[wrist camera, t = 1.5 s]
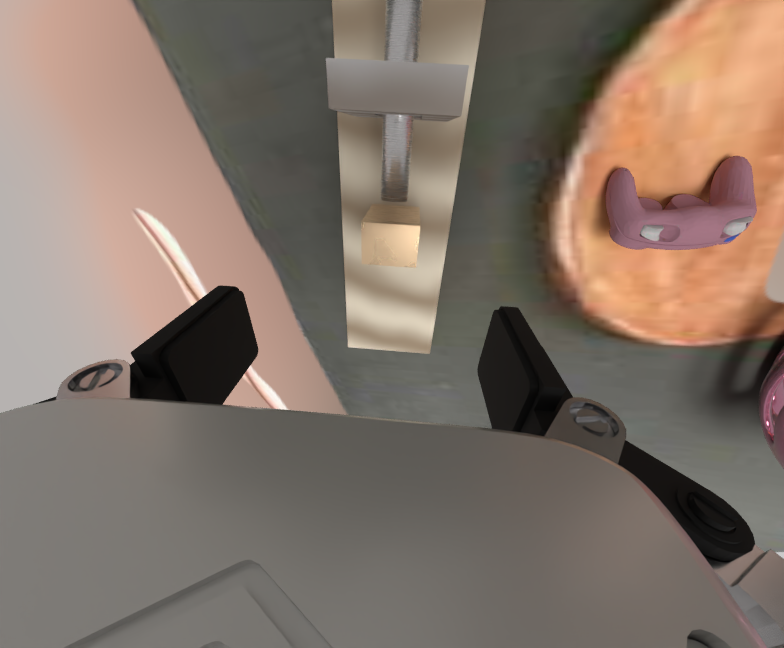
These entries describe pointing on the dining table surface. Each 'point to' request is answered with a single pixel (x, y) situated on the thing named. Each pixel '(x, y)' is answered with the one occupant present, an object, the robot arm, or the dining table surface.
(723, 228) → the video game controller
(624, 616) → the robot arm
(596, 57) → the dining table surface
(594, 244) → the dining table surface
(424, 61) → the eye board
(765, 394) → the spiral basket
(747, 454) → the dining table surface
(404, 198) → the peg
